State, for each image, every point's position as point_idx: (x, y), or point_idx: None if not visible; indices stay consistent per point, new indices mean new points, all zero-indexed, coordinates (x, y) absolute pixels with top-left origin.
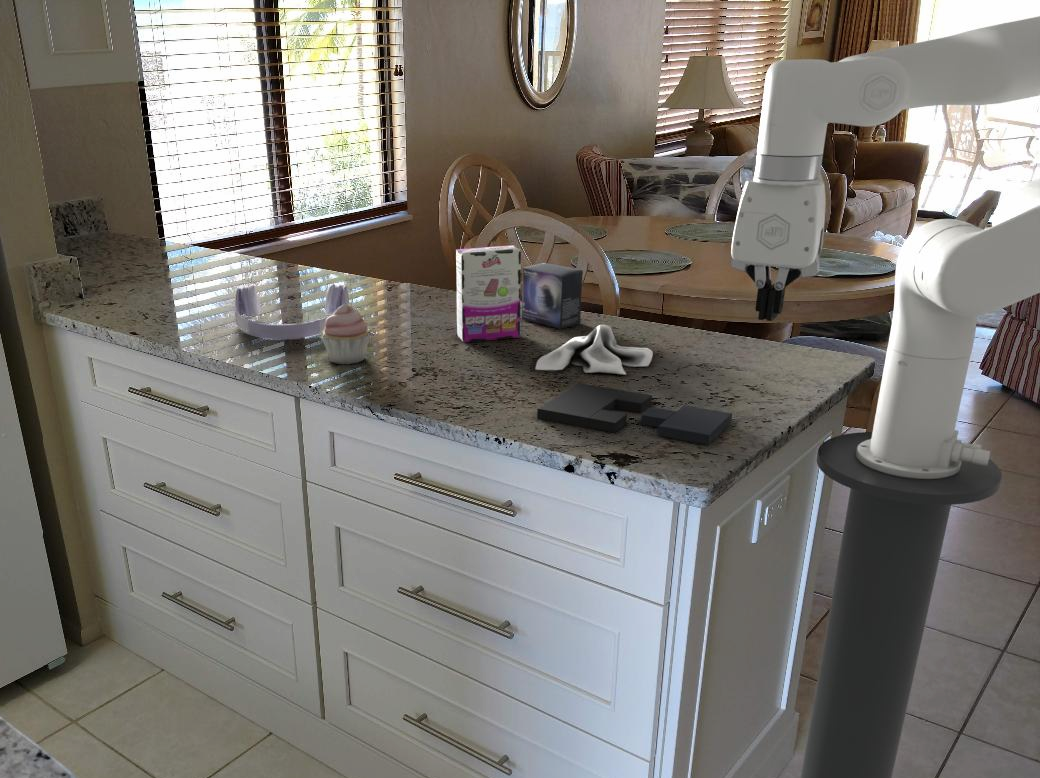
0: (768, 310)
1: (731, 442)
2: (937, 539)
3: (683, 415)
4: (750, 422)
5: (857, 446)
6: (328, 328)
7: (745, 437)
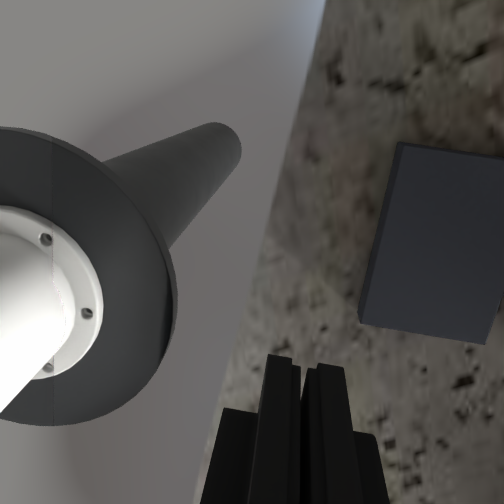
0: (286, 388)
1: (343, 186)
2: None
3: (482, 269)
4: (314, 332)
5: (107, 337)
6: None
7: (314, 232)
